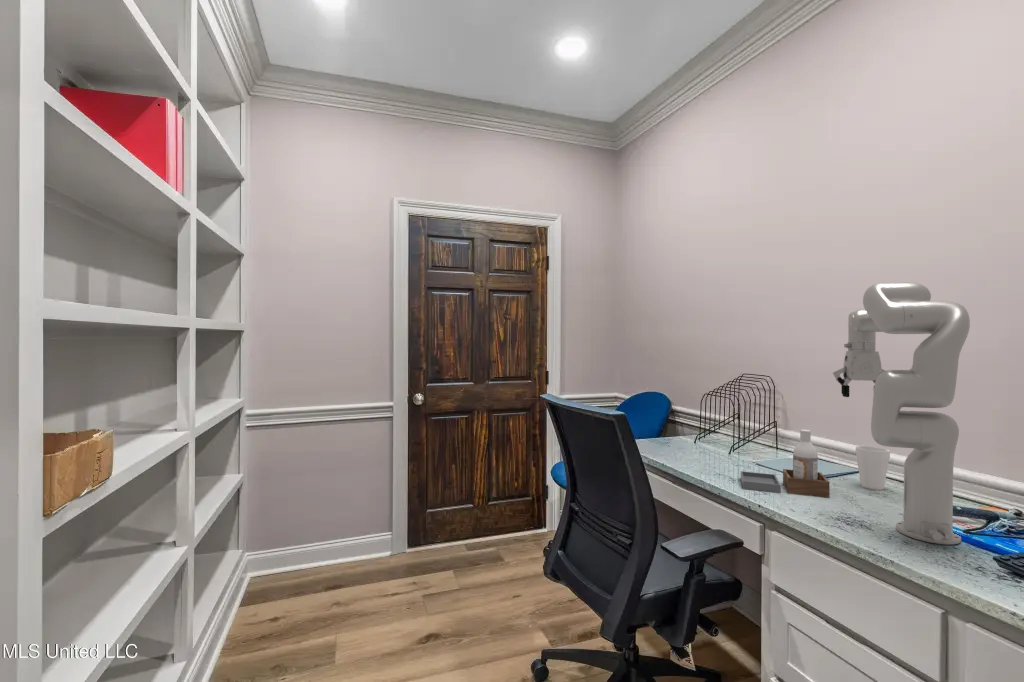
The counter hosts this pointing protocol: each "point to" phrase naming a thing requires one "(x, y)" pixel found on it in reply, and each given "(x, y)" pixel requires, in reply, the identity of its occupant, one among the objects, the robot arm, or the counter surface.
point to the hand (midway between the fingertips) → (861, 397)
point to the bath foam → (805, 458)
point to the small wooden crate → (806, 485)
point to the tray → (760, 482)
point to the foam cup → (872, 466)
